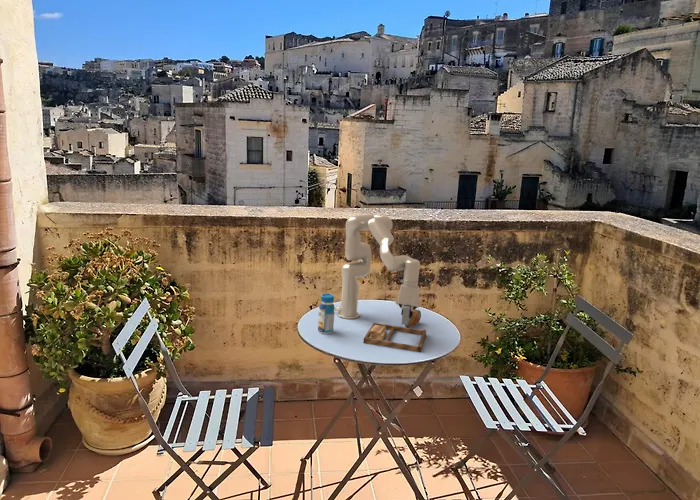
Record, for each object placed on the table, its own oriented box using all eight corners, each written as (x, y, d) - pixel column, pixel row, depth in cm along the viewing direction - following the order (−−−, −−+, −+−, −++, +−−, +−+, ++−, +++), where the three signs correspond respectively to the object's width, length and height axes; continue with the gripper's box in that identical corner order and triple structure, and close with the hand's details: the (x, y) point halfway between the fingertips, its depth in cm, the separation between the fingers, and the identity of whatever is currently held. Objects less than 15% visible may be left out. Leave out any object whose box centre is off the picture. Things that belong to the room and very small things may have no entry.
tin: (407, 329, 299) (408, 315, 297) (402, 327, 300) (403, 313, 298) (420, 322, 310) (422, 308, 308) (416, 321, 312) (417, 307, 310)
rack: (363, 342, 276) (363, 337, 275) (373, 326, 299) (373, 321, 298) (420, 352, 269) (420, 346, 268) (425, 335, 292) (426, 329, 291)
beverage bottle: (331, 335, 283) (333, 298, 278) (315, 333, 284) (317, 296, 280) (335, 329, 291) (337, 294, 286) (319, 327, 292) (321, 292, 288)
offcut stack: (368, 340, 281) (369, 331, 280) (373, 331, 293) (373, 323, 292) (382, 342, 279) (383, 333, 278) (386, 333, 291) (387, 325, 290)
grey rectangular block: (401, 324, 275) (403, 307, 273) (405, 316, 286) (406, 300, 284) (407, 325, 274) (409, 308, 272) (410, 317, 286) (412, 301, 284)
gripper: (393, 282, 274) (389, 316, 278) (425, 287, 270) (421, 322, 275) (395, 278, 281) (392, 312, 285) (427, 283, 277) (423, 317, 282)
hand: (406, 316), depth 280 cm, fingers closed on grey rectangular block, 3 cm apart
